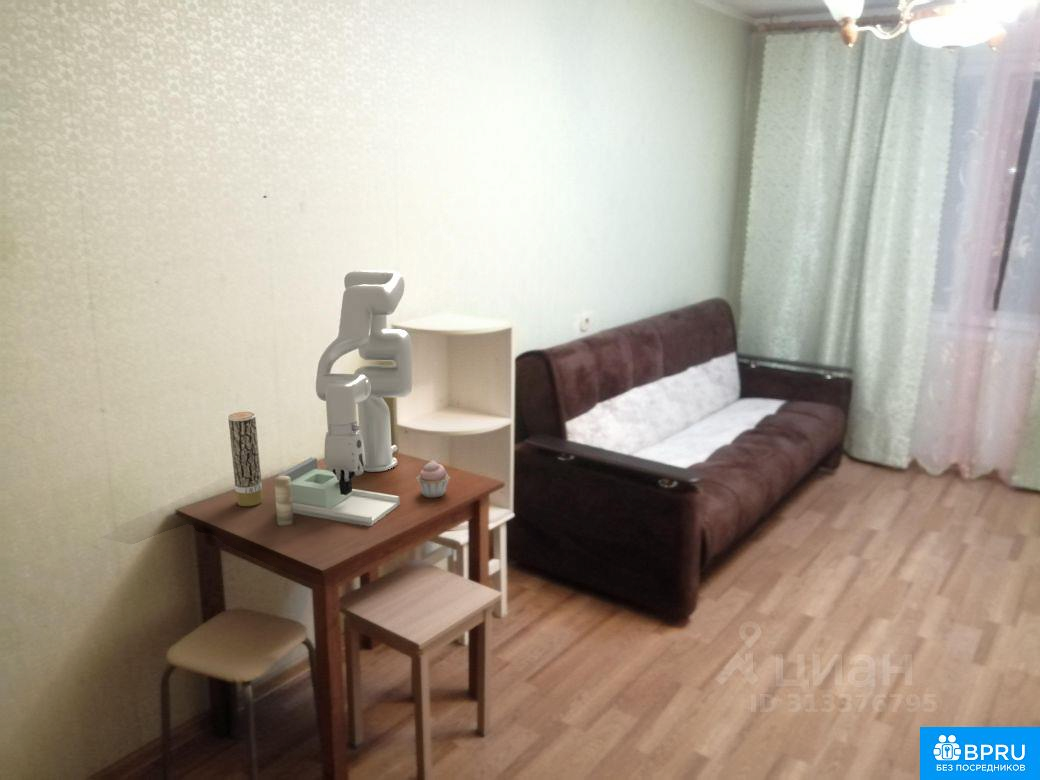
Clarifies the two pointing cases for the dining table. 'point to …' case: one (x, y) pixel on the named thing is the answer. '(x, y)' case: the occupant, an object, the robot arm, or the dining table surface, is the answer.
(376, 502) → the rail base
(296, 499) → the slide block
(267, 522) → the dining table surface
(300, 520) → the dining table surface
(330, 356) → the robot arm
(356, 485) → the dining table surface
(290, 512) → the dowel
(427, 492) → the cupcake
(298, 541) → the dining table surface
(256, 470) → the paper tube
